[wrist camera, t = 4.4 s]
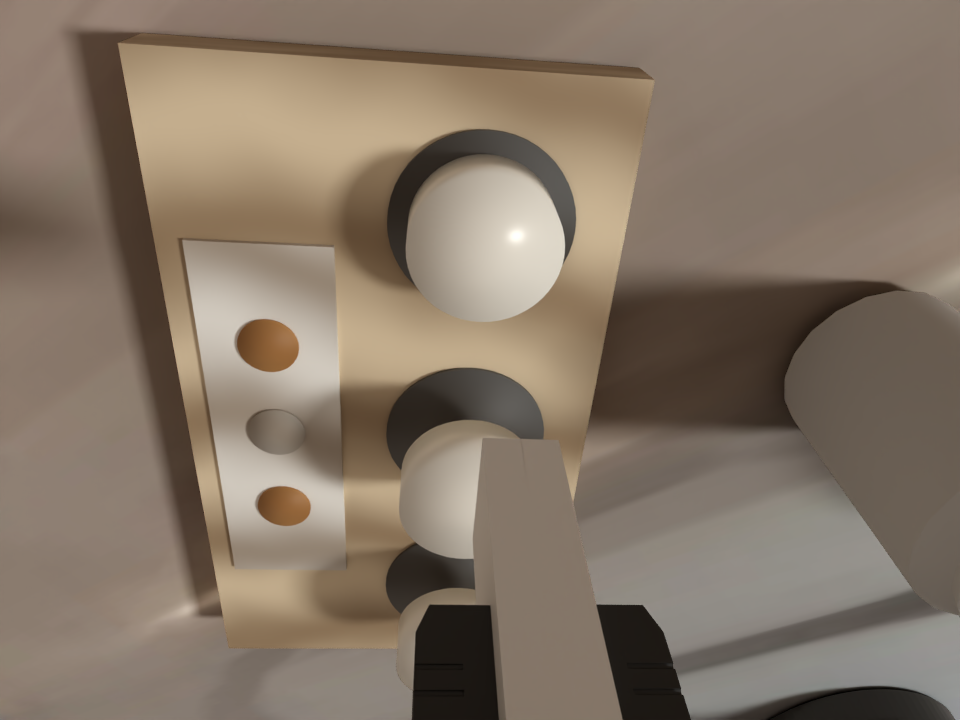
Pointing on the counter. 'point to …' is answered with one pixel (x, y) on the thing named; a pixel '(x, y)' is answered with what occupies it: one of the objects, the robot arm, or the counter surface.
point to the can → (891, 427)
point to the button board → (358, 299)
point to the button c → (484, 238)
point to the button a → (412, 620)
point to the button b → (444, 485)
